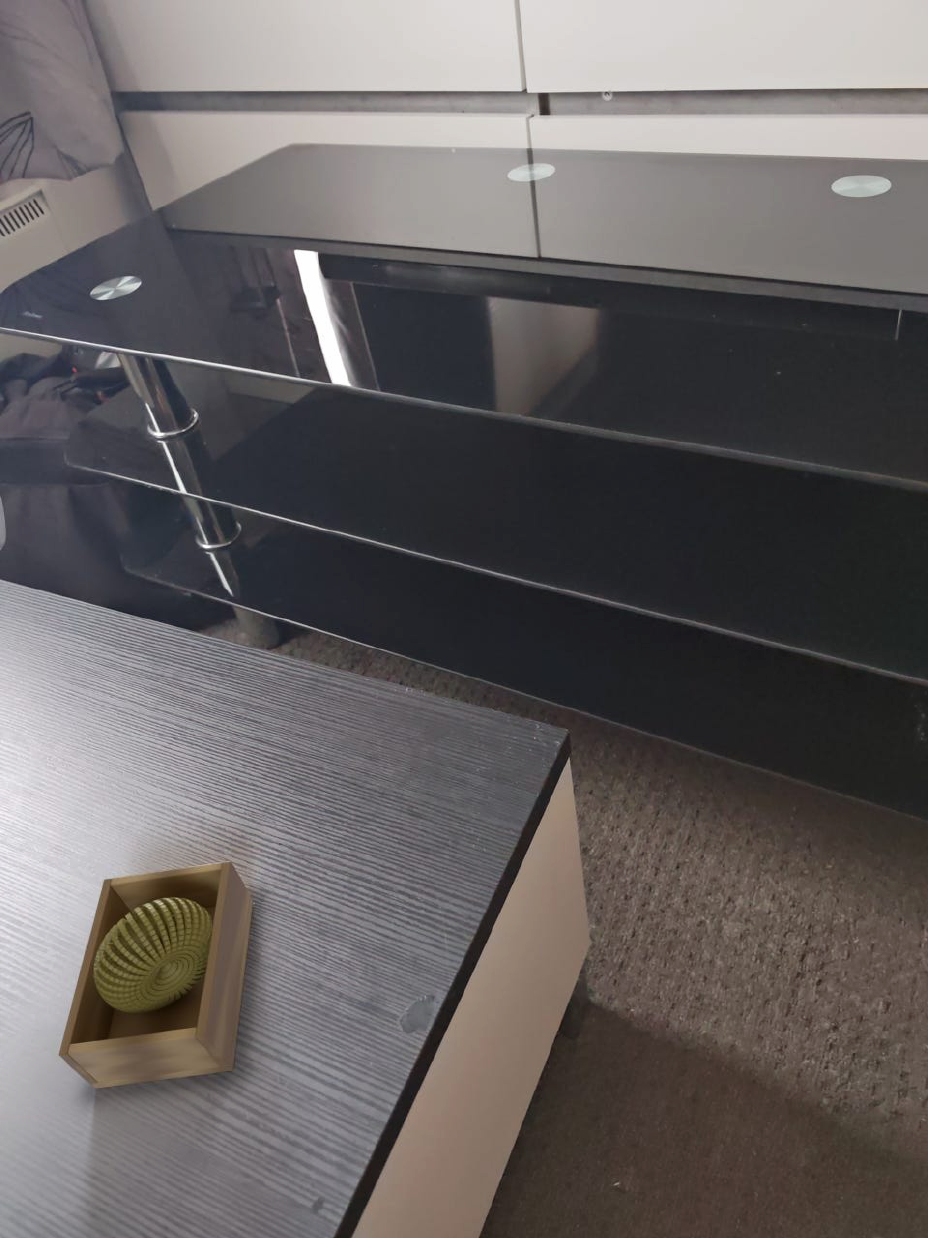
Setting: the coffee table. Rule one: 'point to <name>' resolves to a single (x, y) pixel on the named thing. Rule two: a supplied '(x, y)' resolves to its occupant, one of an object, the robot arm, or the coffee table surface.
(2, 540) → the robot arm
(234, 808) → the coffee table surface
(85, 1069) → the wooden box
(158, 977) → the sculpture
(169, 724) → the coffee table surface
